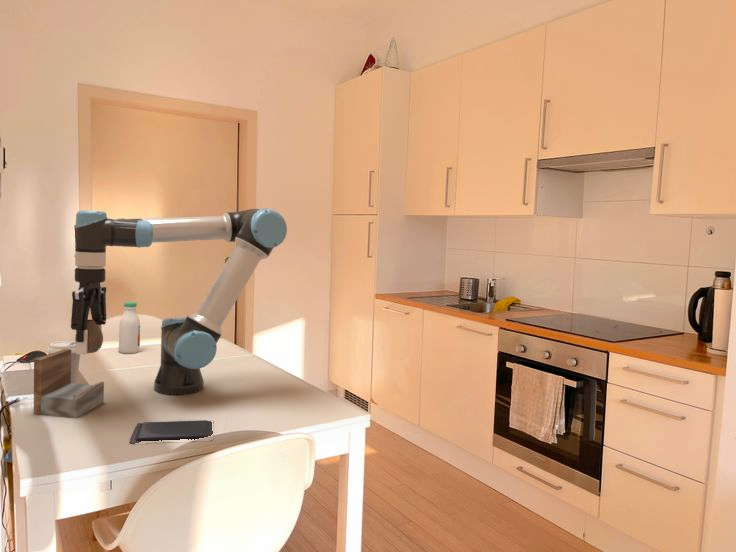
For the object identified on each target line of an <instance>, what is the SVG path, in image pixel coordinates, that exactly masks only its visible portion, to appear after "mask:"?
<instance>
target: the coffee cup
mask: <svg viewBox="0 0 736 552" xmlns="http://www.w3.org/2000/svg"><path fill="white" fill-rule="evenodd" d="M63 349H71V383H75V384H78V377H79V369H80V358H81V354H76V343H75V340H60V341H53V342H51V343H50V344H49V346H48V347H47V349H46V353H48V354H51V353H54V352H57V351H60V350H63ZM48 354H47V355H48Z"/></svg>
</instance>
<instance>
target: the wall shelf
mask: <svg viewBox="0 0 736 552" xmlns="http://www.w3.org/2000/svg"><path fill="white" fill-rule="evenodd" d="M104 388H105V382H104V381H98V382H97V383H95V384H86V383H85V384H84V383H77V384H75V383H71V349H63V350H60V351H57V352H54V353H51V354H45V355H43V356H40V357H37V358H34V359H33V415H41V416H50V417H51V416H52V417H62V418H63V417H65V418H72V419H73V418H75V419H76V418H79V417H81V416H83V415H84V414H86V413H88V412H89V411H91V410H93V409H95V408H97V407H98V406H101V405H102V404H104V397H105V396H104V392H105V389H104Z"/></svg>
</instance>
